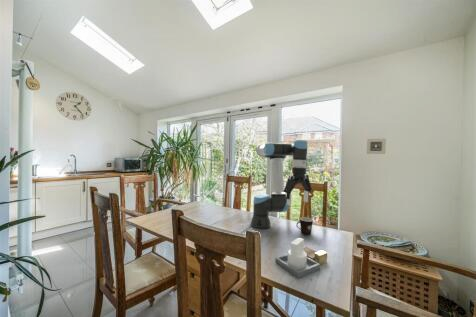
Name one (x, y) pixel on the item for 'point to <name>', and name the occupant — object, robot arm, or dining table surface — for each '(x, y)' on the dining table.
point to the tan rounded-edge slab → (310, 253)
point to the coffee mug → (305, 225)
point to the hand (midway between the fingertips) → (297, 203)
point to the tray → (310, 268)
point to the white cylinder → (297, 255)
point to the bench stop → (320, 257)
